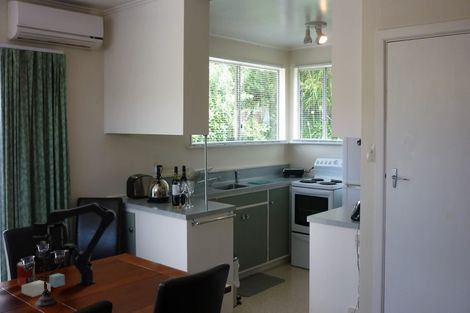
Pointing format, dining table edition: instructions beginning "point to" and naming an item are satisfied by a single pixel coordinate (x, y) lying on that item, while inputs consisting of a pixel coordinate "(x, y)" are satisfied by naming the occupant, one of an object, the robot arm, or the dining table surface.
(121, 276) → the dining table surface
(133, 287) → the dining table surface
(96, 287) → the dining table surface
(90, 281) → the robot arm
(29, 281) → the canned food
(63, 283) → the block
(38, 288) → the base box
